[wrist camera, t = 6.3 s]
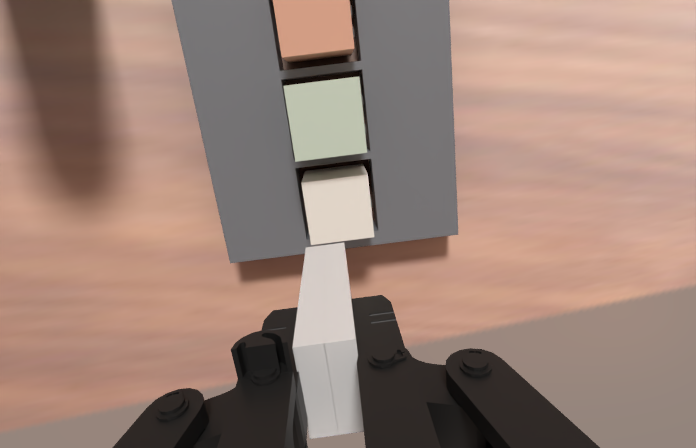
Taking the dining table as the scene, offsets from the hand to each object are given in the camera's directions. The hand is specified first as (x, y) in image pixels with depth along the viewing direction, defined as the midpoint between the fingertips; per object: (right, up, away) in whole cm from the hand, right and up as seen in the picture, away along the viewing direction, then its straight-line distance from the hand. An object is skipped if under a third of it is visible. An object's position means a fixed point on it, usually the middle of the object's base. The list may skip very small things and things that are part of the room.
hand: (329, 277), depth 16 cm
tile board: (-1, +10, +12) cm, 15 cm away
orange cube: (-1, +14, +9) cm, 17 cm away
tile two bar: (-1, +9, +10) cm, 13 cm away
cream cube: (0, +4, +13) cm, 14 cm away
